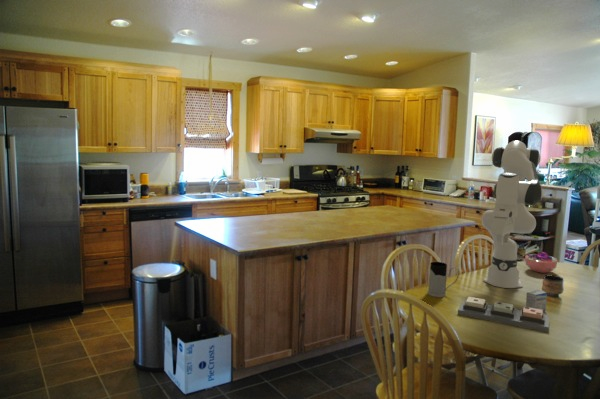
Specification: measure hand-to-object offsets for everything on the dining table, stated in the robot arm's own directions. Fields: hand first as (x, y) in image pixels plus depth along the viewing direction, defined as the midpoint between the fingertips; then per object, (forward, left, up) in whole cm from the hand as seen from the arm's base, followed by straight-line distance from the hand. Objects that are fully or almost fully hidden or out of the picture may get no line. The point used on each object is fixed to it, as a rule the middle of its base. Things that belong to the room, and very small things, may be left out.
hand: (502, 244), depth 188 cm
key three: (+3, +14, -28) cm, 31 cm away
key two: (+3, +3, -28) cm, 28 cm away
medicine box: (-13, +15, -31) cm, 37 cm away
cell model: (-86, +16, -31) cm, 93 cm away
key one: (+3, -8, -28) cm, 29 cm away
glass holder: (-13, -25, -31) cm, 42 cm away
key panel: (+3, +3, -31) cm, 31 cm away
